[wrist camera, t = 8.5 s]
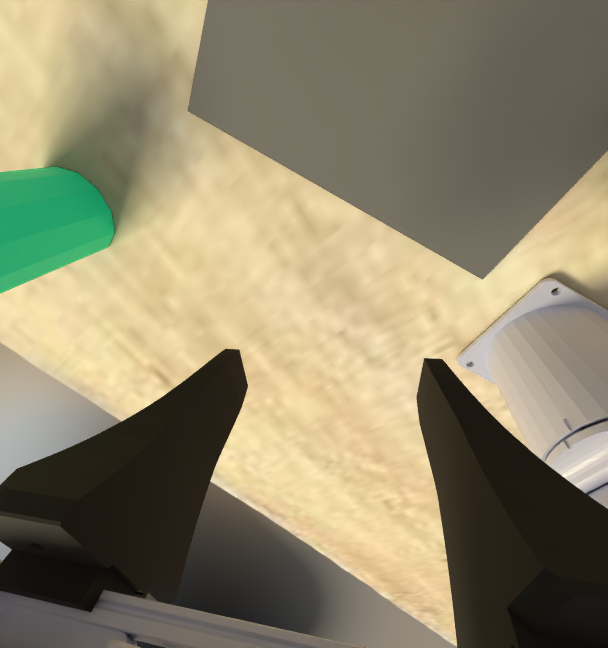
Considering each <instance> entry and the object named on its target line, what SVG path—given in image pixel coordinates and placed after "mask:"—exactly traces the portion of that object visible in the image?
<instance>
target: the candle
mask: <svg viewBox="0 0 608 648" xmlns="http://www.w3.org/2000/svg"><path fill="white" fill-rule="evenodd" d="M114 234H115V230H114V224H113V218H112V212H111V210H110V209H109V207H108V205H107V204H106V202H105V200H104V199H103V197H102V196H101V194H100V192H99V191H98V189H97V188H95V187H94V186H93V185H92V184H91V183H89V182H88V181H87V180H86V179H85V178H83V177H82V176H81V175H80V174H79V173H77V172H74V171H70V170H67V169H63V168H59V167H48V168H38V169H28V170H18V171H8V172H0V293H2V292H5V291H7V290H9V289H12V288H14V287H16V286H19V285H21V284H23V283H26V282H28V281H30V280H33V279H35V278H37V277H40V276H42V275H44V274H47V273H49V272H51V271H54V270H56V269H58V268H61V267H63V266H65V265H68V264H70V263H72V262H75V261H77V260H79V259H82V258H84V257H86V256H89V255H91V254H93V253H96V252H98V251H100V250H103V249H105V248H107V247H109V245H110V242H111V240H112V238H113V236H114Z"/></svg>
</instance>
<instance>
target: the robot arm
mask: <svg viewBox="0 0 608 648" xmlns="http://www.w3.org/2000/svg"><path fill="white" fill-rule="evenodd" d="M555 288H558V290H557V291H555V292H553V293H551V291H552V290H553V289H555ZM456 361H457V363H458V365H460V366H461V367H463V368H465V369H467V370H469V371H471V372H473V373H475V374H476V375H478V376H480V377H482V378H484V379H486V380H488V381H490V382H491V383H493V384H495V385H496V386H497V387H498V389H499V391H500V393H501V395H502V397H503V399H504V401H505V403H506V405H507V407H508V409H509V411H510V413H511V415H512V417H513V419H514V421H515V423H516V425H517V427H518V429H519V431H520V433H521V435H522V437H523V439H524V441H525V442H526V444H527V446H528V448H529V449H528V448H527V447H526V446H524V445H523V444H522V443H521V442H520V441H519V440H518V439H516V438H515V437H514V436H513V435H512V434H511V433H510V432H509V431H508V430H506V429H505V428H504V427H503V426H502V425H501V424H500V423H499V422H498V421H497V420H496V419H495V418H494V417H493V416H492V415H491V414H490V413H489V412H488V411H487V410H486V409H485V408H484V407H483V405H482V404H481V403H480V402H479V401H478V400H477V399H476V398H475V397H474V396H473V395H472V394H471V392H470V391H469V390H468V389H467V388H466V387H465V386H464V384H463V383H462V382H461V381H460V380H459V379H458V377H457V376H456V375H455V374H454V373H453V371H452V370H451V369H450V368H449V367H448V365H447V364H446V363H445V362H444V361H443V360H442V359H429V358H424V362H423V367H422V372H421V377H420V382H419V388H418V393H417V406H418V414H419V421H420V426H421V430H422V434H423V438H424V442H425V446H426V450H427V454H428V458H429V462H430V466H431V469H432V473H433V477H434V481H435V485H436V490H437V495H438V501H439V507H440V513H441V520H442V526H443V533H444V540H445V547H446V554H447V561H448V569H449V577H450V585H451V593H452V601H453V610H454V620H455V629H456V638H457V648H608V310H606V309H605V308H603V307H601V306H599V305H598V304H596V303H594V302H593V301H591V300H589V299H588V298H586V297H584V296H582V295H581V294H579V293H577V292H576V291H574V290H572V289H571V288H569V287H567V286H566V285H564V284H562V283H560V282H559V281H557V280H555V279H553V278H546V279H543V280H542V281H540V282H539V283H538V284H537V285H536V286H535V287H534V288H533V289H532V290H530V291H529V292H528V293H527V294H526V295H525V296H524V297H523V298H522V299H520V300H519V301H518V302H517V303H516V304H515V305H514V306H513V307H512V308H510V309H509V310H508V311H507V312H506V313H505V314H504V315H503V316H502V317H500V318H499V319H498V320H497V321H496V322H495V323H494V324H493V325H492V326H490V327H489V328H488V329H487V330H486V331H485V332H484V333H483V334H482V335H480V336H479V337H478V338H477V339H476V340H475V341H474V342H473V343H472V344H470V345H469V346H468V347H467V348H466V349H465V350H464V351H463V352H462V353H460V354H459V355H458V356H457V358H456ZM468 362H472V363H471V364H467V363H468ZM247 388H248V384H247V380H246V376H245V372H244V368H243V363H242V359H241V355H240V351H239V350H236V349H225V350H223V351H222V352H221V353H219V354H218V355H217V356H215V357H214V358H213V359H212V360H210V361H209V362H208V363H207V364H205V365H204V366H203V367H202V368H200V369H199V370H198V371H196V372H195V373H194V374H193V375H191V376H190V377H189V378H188V379H186V380H185V381H184V382H182V383H181V384H179V385H178V386H177V387H175V388H174V389H173V390H171V391H170V392H168V393H167V394H166V395H164V396H163V397H161V398H160V399H158V400H157V401H155V402H154V403H152V404H151V405H149V406H148V407H146V408H144V409H143V410H141V411H139V412H138V413H136V414H134V415H133V416H131V417H129V418H127V419H126V420H124V421H122V422H120V423H118V424H116V425H115V426H113V427H111V428H109V429H107V430H105V431H103V432H101V433H99V434H97V435H95V436H93V437H91V438H89V439H87V440H85V441H83V442H81V443H78V444H76V445H74V446H72V447H69V448H67V449H65V450H63V451H60V452H58V453H56V454H53V455H51V456H48V457H46V458H43V459H41V460H38V461H36V462H33V463H31V464H28V465H26V466H23V467H20V468H18V469H16V470H15V471H14V472H13V473H12V474H11V475H10V476H9V477H8V478H7V479H6V480H5V481H4V482H3V483H2V484H1V485H0V541H1V542H2V543H3V544H5V545H6V546H8V547H9V548H11V549H12V551H11V552H10V553H9V554H8V555H7V557H6V558H5V559H4V560H3V561H2V560H0V648H140V647H137V644H136V641H135V640H138V641H142V642H146V643H150V644H154V645H158V646H162V647H166V648H364V647H359V646H355V645H351V644H346V643H342V642H337V641H333V640H328V639H324V638H319V637H315V636H310V635H305V634H301V633H297V632H292V631H288V630H283V629H278V628H274V627H269V626H265V625H260V624H256V623H251V622H247V621H242V620H238V619H233V618H229V617H224V616H219V615H215V614H210V613H206V612H202V611H197V610H192V609H188V608H183V607H179V606H174V605H170V603H172V602H173V601H174V600H175V599H176V597H177V594H178V590H179V585H180V581H181V578H182V574H183V570H184V566H185V562H186V559H187V555H188V551H189V548H190V544H191V541H192V537H193V534H194V530H195V527H196V523H197V520H198V517H199V514H200V510H201V507H202V504H203V501H204V498H205V495H206V492H207V489H208V485H209V483H210V480H211V477H212V474H213V471H214V468H215V466H216V463H217V461H218V459H219V456H220V454H221V452H222V450H223V448H224V445H225V443H226V441H227V439H228V437H229V434H230V432H231V430H232V428H233V426H234V423H235V421H236V419H237V417H238V415H239V412H240V410H241V407H242V404H243V401H244V398H245V395H246V391H247Z"/></svg>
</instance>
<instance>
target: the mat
mask: <svg viewBox="0 0 608 648" xmlns="http://www.w3.org/2000/svg"><path fill="white" fill-rule="evenodd" d="M188 111H189V112H190V113H192V114H194V115H196V116H197V117H199V118H201V119H203V120H204V121H206V122H208V123H210V124H211V125H213V126H215V127H217V128H218V129H220V130H222V131H224V132H225V133H227V134H229V135H231V136H232V137H234V138H236V139H238V140H239V141H241V142H243V143H245V144H246V145H248V146H250V147H252V148H253V149H255V150H257V151H259V152H260V153H262V154H264V155H266V156H267V157H269V158H271V159H273V160H274V161H276V162H278V163H280V164H281V165H283V166H285V167H287V168H288V169H290V170H292V171H294V172H295V173H297V174H299V175H301V176H302V177H304V178H306V179H308V180H309V181H311V182H313V183H315V184H316V185H318V186H320V187H322V188H323V189H325V190H327V191H329V192H330V193H332V194H334V195H336V196H337V197H339V198H341V199H343V200H344V201H346V202H348V203H350V204H351V205H353V206H355V207H357V208H358V209H360V210H362V211H364V212H365V213H367V214H369V215H371V216H372V217H374V218H376V219H378V220H379V221H381V222H383V223H385V224H386V225H388V226H390V227H392V228H393V229H395V230H397V231H398V232H400V233H402V234H404V235H405V236H407V237H409V238H411V239H412V240H414V241H416V242H418V243H419V244H421V245H423V246H425V247H426V248H428V249H430V250H432V251H433V252H435V253H437V254H439V255H440V256H442V257H444V258H446V259H447V260H449V261H451V262H453V263H454V264H456V265H458V266H460V267H461V268H463V269H465V270H467V271H468V272H470V273H472V274H474V275H475V276H477V277H479V278H481V279H482V280H483V279H484V278H485V277H486V276H487V274H488V273H489V272H490V271H491V270H492V269H493V268H494V267H495V266H496V265H497V264H498V263H499V262H500V261H501V260H502V259H503V258H504V257H505V256H506V255H507V254H508V253H509V252H510V251H511V250H512V249H513V248H514V247H515V246H516V244H517V243H518V242H519V241H520V240H521V239H522V238H523V237H524V236H525V235H526V234H527V233H528V232H529V231H530V230H531V229H532V228H533V227H534V226H535V225H536V224H537V223H538V222H539V221H540V220H541V219H542V218H543V217H544V216H545V214H546V213H547V212H548V211H549V210H550V209H551V208H552V207H553V206H554V205H555V204H556V203H557V202H558V201H559V200H560V199H561V198H562V197H563V196H564V195H565V194H566V193H567V192H568V191H569V190H570V189H571V188H572V187H573V186H574V184H575V183H576V182H577V181H578V180H579V179H580V178H581V177H582V176H583V175H584V174H585V173H586V172H587V171H588V170H589V169H590V168H591V167H592V166H593V165H594V164H595V163H596V162H597V161H598V160H599V159H600V158H601V157H602V156H603V154H604V153H605V152H606V151H607V150H608V0H208V4H207V9H206V15H205V20H204V25H203V31H202V36H201V42H200V47H199V53H198V58H197V63H196V69H195V74H194V80H193V85H192V91H191V96H190V101H189V107H188Z"/></svg>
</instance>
